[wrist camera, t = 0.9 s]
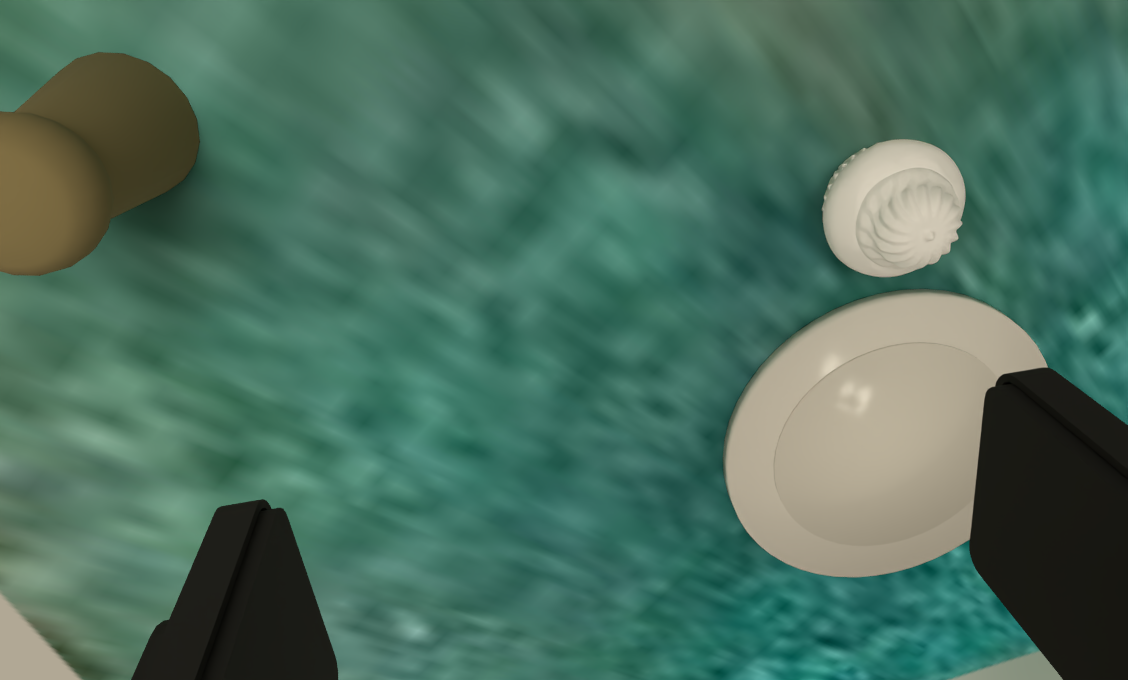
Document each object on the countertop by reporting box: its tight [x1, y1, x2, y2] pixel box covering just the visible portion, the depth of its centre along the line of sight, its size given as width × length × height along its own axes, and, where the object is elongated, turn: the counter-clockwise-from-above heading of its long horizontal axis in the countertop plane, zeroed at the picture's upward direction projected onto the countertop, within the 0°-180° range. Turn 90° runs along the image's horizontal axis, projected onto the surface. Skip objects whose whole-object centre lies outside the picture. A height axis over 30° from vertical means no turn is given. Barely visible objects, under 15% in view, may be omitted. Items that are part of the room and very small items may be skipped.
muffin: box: [822, 139, 965, 277], centre depth 37 cm, size 6×6×7 cm
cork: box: [0, 52, 200, 276], centre depth 31 cm, size 6×6×11 cm
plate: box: [723, 289, 1048, 577], centre depth 47 cm, size 18×18×1 cm
